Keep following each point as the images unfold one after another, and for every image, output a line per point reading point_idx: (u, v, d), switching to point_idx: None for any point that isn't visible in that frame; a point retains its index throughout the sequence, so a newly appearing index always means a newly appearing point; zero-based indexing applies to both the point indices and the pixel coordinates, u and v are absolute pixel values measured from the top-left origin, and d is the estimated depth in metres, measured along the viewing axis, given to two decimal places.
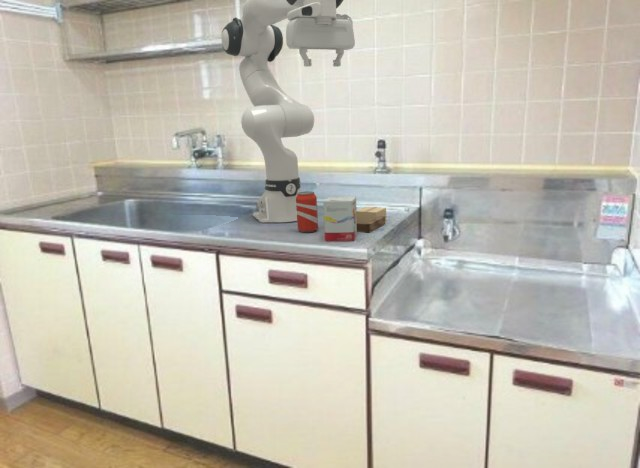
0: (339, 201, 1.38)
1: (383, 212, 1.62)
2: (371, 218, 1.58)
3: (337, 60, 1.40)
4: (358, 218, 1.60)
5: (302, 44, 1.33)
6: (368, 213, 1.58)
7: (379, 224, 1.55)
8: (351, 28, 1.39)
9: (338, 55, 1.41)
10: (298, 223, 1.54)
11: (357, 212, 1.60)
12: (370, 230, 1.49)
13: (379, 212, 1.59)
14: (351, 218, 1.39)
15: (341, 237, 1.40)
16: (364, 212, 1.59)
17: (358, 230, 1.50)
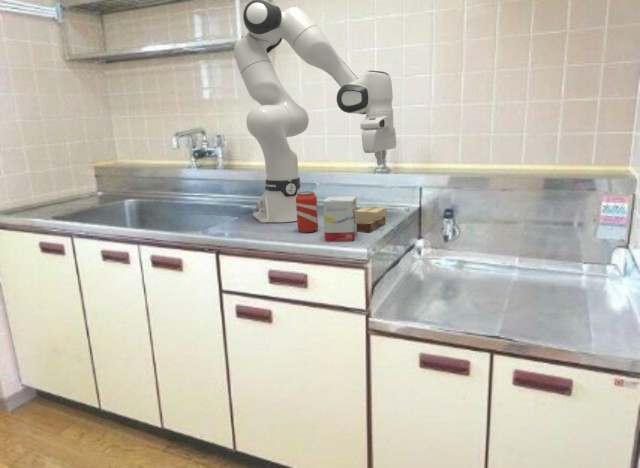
0: (339, 201, 1.38)
1: (383, 212, 1.62)
2: (371, 218, 1.58)
3: (383, 159, 1.66)
4: (358, 218, 1.60)
5: (377, 149, 1.58)
6: (368, 213, 1.58)
7: (379, 224, 1.55)
8: None
9: (382, 155, 1.67)
10: (298, 223, 1.54)
11: (357, 212, 1.60)
12: (370, 230, 1.49)
13: (379, 212, 1.59)
14: (351, 218, 1.39)
15: (341, 237, 1.40)
16: (364, 212, 1.59)
17: (358, 230, 1.50)
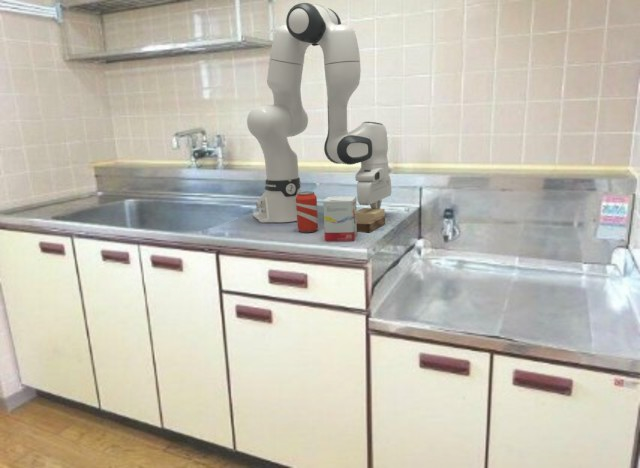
0: (339, 201, 1.38)
1: (381, 213, 1.61)
2: (369, 219, 1.57)
3: None
4: None
5: (372, 201, 1.58)
6: (367, 215, 1.57)
7: (379, 224, 1.55)
8: (390, 180, 1.70)
9: (377, 204, 1.67)
10: (298, 223, 1.54)
11: None
12: (370, 230, 1.49)
13: (378, 213, 1.58)
14: (351, 218, 1.39)
15: (341, 237, 1.40)
16: (362, 213, 1.58)
17: (358, 230, 1.50)
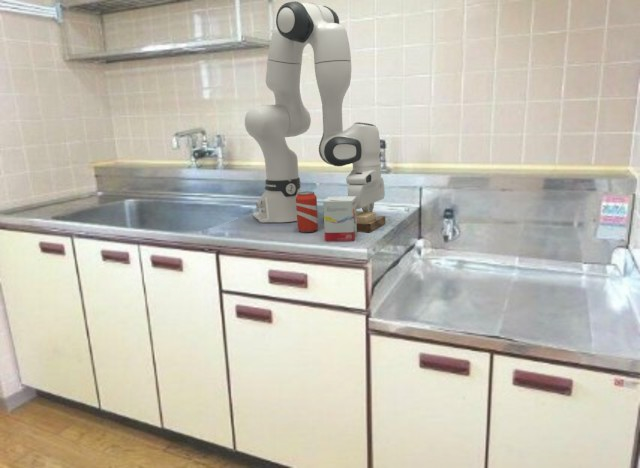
0: (339, 201, 1.38)
1: (373, 216, 1.55)
2: None
3: None
4: None
5: (363, 205, 1.53)
6: (357, 218, 1.52)
7: (379, 224, 1.55)
8: (383, 183, 1.65)
9: (369, 207, 1.61)
10: (298, 223, 1.54)
11: None
12: (370, 230, 1.49)
13: (368, 217, 1.53)
14: (351, 218, 1.39)
15: (341, 237, 1.40)
16: None
17: (358, 230, 1.50)
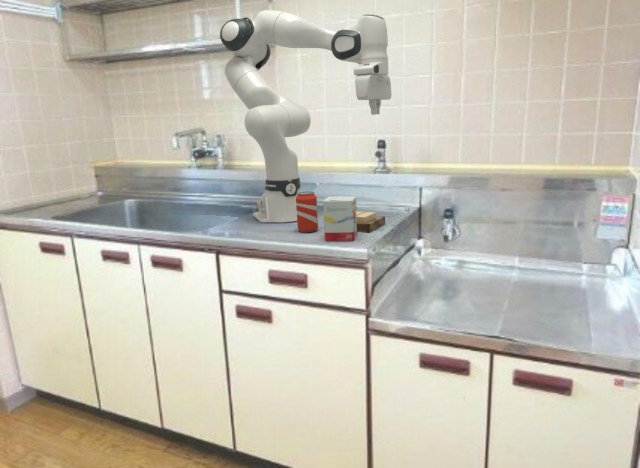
0: (339, 201, 1.38)
1: (373, 217, 1.55)
2: None
3: (378, 109, 1.60)
4: None
5: (371, 96, 1.53)
6: None
7: (379, 224, 1.55)
8: (390, 82, 1.65)
9: (376, 105, 1.61)
10: (298, 223, 1.54)
11: None
12: (370, 230, 1.49)
13: (368, 217, 1.52)
14: (351, 218, 1.39)
15: (341, 237, 1.40)
16: None
17: (358, 230, 1.50)
